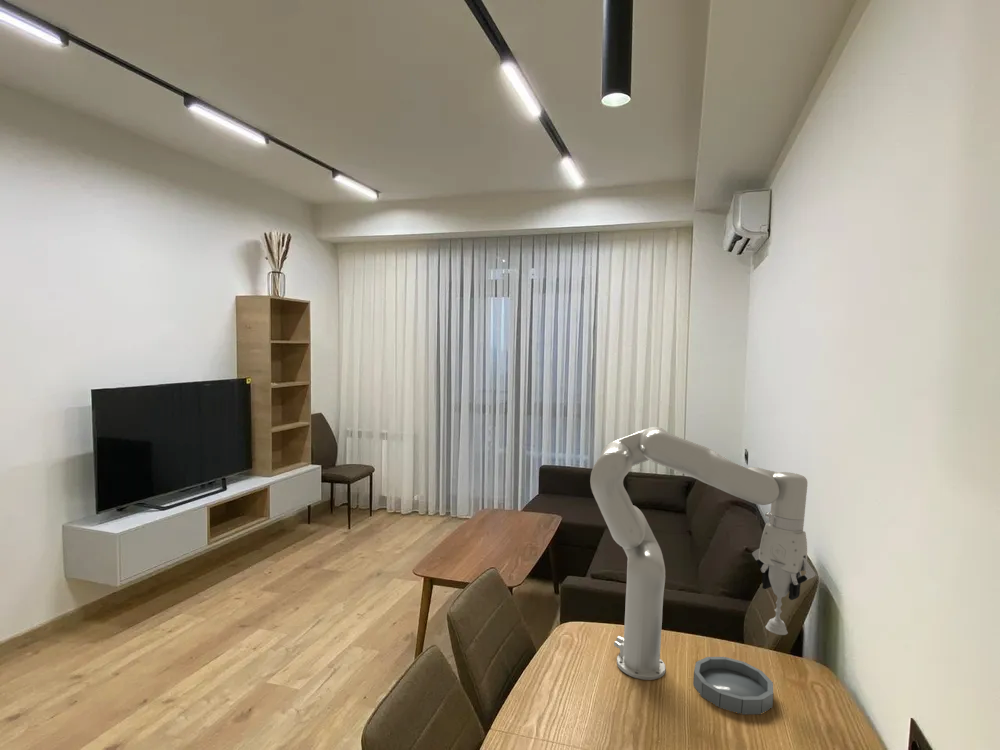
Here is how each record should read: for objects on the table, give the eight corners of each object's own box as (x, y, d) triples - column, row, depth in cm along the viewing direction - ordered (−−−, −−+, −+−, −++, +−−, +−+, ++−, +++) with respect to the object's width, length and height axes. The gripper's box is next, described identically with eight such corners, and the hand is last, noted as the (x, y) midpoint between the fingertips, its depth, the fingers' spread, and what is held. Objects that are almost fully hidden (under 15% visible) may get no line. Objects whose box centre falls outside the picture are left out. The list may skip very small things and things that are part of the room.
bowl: (679, 682, 138) (679, 669, 138) (721, 662, 148) (721, 650, 148) (745, 724, 123) (746, 709, 123) (786, 698, 134) (787, 684, 134)
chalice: (796, 639, 133) (803, 567, 132) (766, 634, 134) (773, 563, 133) (786, 624, 140) (792, 556, 139) (758, 620, 141) (764, 552, 140)
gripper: (745, 514, 141) (739, 582, 141) (815, 535, 127) (808, 611, 127) (761, 511, 145) (755, 577, 146) (830, 531, 131) (823, 604, 132)
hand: (779, 592), depth 137 cm, fingers closed on chalice, 6 cm apart
